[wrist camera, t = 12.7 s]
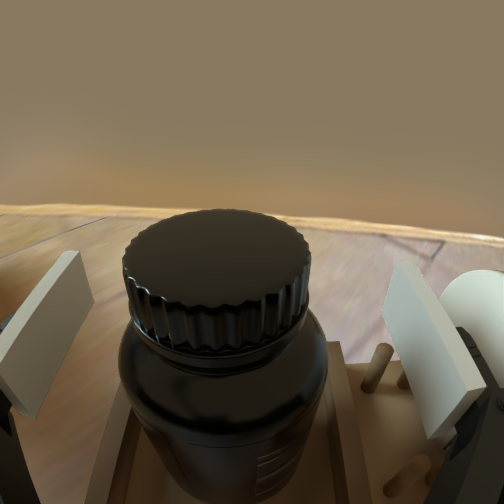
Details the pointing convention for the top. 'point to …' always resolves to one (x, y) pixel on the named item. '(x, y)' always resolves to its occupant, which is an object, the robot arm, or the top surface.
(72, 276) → the robot arm
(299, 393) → the supplement bottle
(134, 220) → the top surface
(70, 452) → the top surface
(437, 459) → the dish rack
